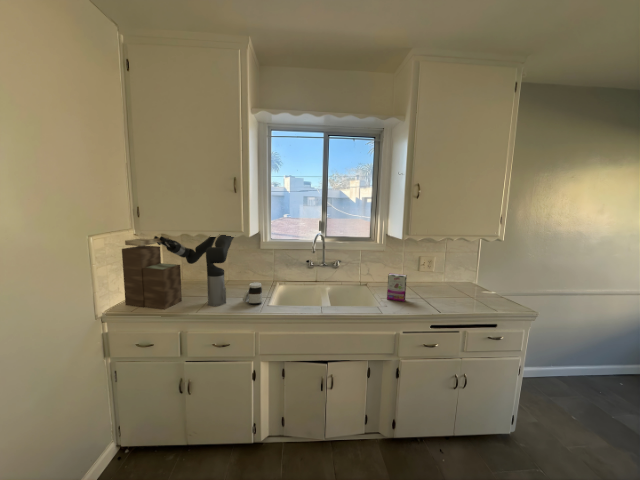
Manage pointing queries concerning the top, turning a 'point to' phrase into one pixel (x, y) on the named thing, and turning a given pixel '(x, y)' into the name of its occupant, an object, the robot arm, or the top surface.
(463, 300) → the top surface
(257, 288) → the spread jar
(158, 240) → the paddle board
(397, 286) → the candy bar box
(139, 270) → the two-tone wooden block
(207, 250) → the robot arm
